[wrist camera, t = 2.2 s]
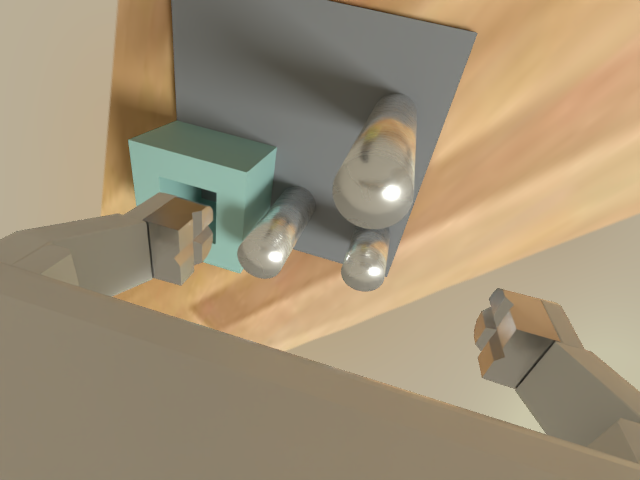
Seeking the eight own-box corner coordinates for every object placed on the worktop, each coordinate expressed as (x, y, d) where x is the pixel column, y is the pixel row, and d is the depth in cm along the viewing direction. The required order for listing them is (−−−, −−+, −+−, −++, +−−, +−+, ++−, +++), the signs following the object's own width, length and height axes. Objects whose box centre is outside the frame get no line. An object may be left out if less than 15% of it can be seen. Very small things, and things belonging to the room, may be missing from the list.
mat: (476, 32, 22) (477, 32, 22) (387, 273, 33) (386, 276, 33) (174, -33, 24) (169, -34, 24) (184, 213, 36) (181, 216, 35)
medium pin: (318, 191, 30) (284, 246, 23) (312, 223, 32) (279, 284, 24) (283, 181, 30) (238, 233, 23) (278, 213, 32) (236, 270, 25)
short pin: (395, 223, 30) (389, 263, 25) (384, 253, 32) (377, 296, 27) (358, 213, 30) (346, 251, 25) (350, 243, 32) (337, 284, 27)
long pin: (423, 99, 24) (425, 166, 13) (408, 143, 26) (399, 238, 15) (378, 88, 25) (341, 144, 13) (367, 133, 27) (325, 217, 15)
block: (277, 147, 29) (247, 172, 24) (266, 236, 34) (240, 273, 29) (176, 120, 30) (128, 139, 25) (181, 211, 35) (141, 242, 30)
